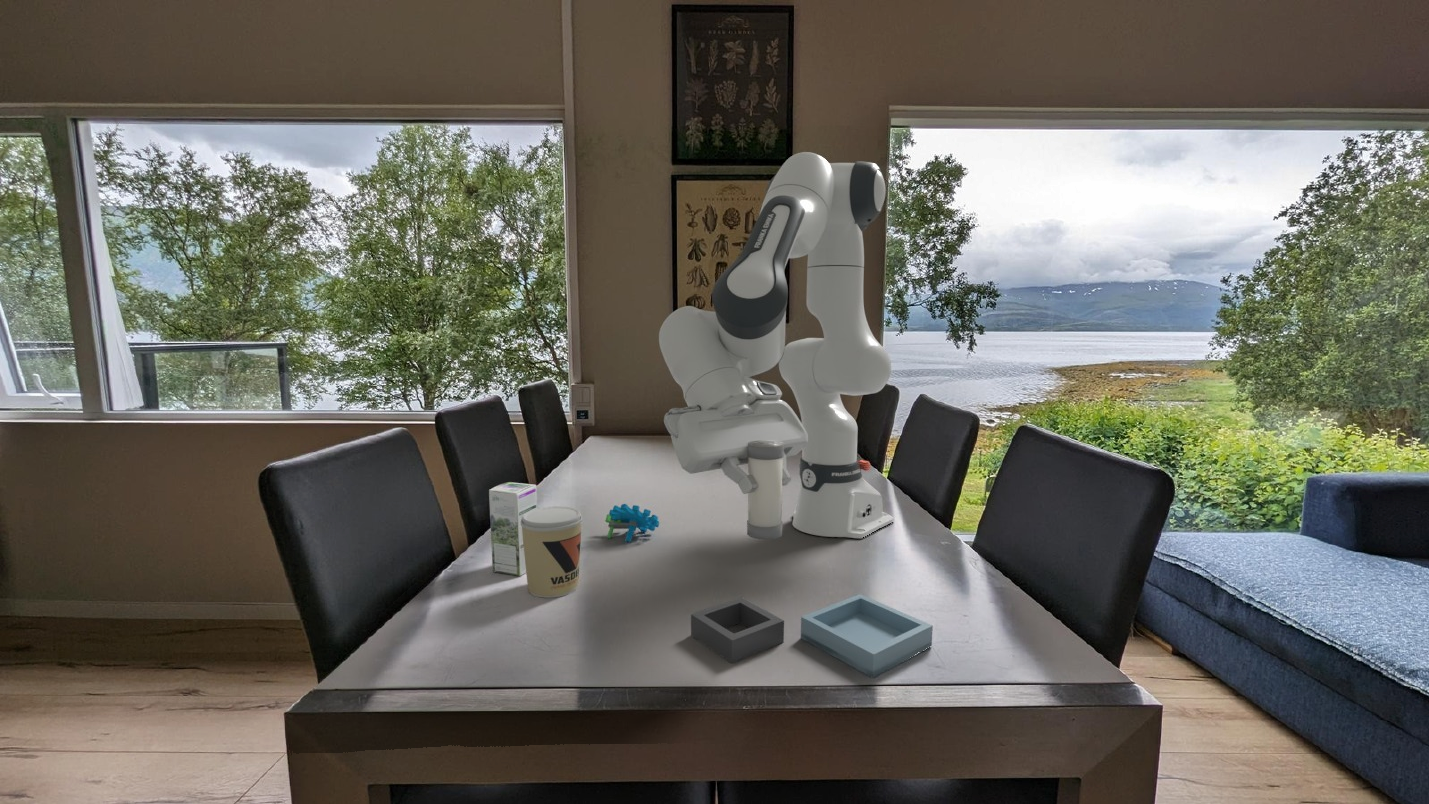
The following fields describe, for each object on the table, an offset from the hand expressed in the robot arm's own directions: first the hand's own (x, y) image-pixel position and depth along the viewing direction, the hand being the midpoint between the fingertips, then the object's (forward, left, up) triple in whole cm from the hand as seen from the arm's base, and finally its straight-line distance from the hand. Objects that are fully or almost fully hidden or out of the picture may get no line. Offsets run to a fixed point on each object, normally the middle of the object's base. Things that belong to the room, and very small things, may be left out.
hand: (768, 487), depth 81 cm
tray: (-10, +8, -21) cm, 25 cm away
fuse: (0, -1, -6) cm, 6 cm away
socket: (+3, -3, -21) cm, 21 cm away
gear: (-6, -46, -21) cm, 51 cm away
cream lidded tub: (+16, -33, -21) cm, 42 cm away
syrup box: (+18, -44, -21) cm, 52 cm away
